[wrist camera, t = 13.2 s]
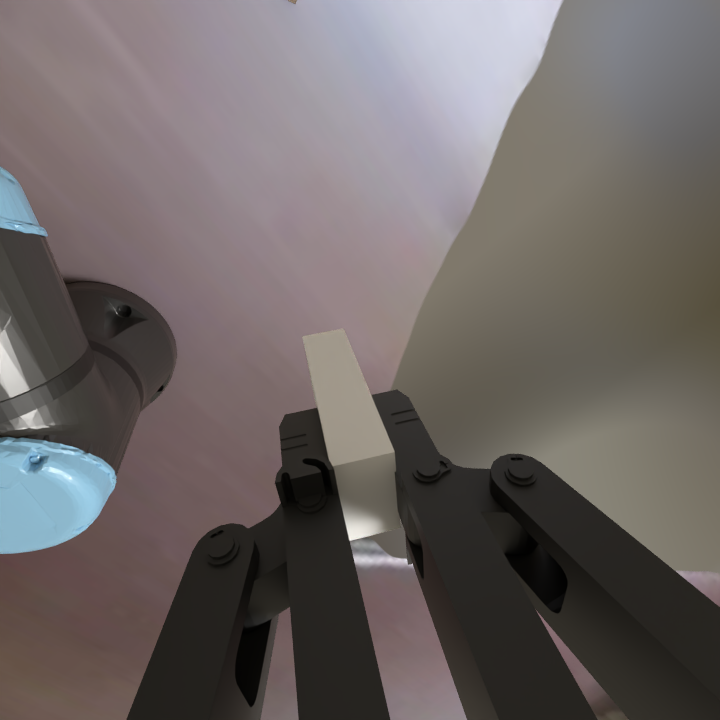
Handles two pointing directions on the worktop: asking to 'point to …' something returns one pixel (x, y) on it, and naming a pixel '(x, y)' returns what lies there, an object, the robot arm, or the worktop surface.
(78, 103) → the worktop surface
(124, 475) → the worktop surface
